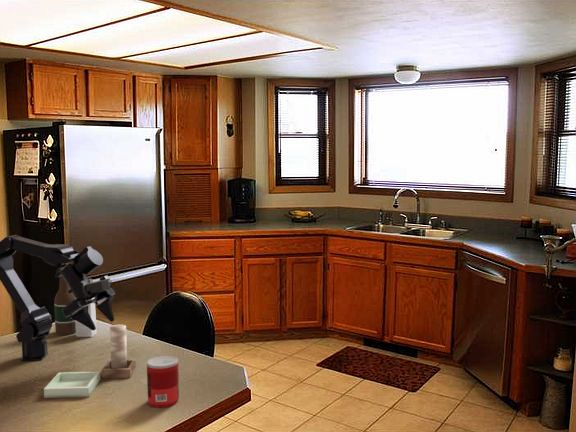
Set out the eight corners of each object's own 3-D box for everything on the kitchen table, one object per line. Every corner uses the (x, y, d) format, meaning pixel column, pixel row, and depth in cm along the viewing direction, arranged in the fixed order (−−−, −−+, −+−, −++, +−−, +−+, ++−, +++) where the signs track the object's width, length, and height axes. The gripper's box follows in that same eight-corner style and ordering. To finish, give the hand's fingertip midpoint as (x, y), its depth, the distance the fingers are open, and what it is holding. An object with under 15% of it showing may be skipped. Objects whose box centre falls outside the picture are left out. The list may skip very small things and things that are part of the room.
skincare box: (97, 333, 204) (95, 301, 203) (91, 337, 199) (90, 304, 198) (80, 333, 204) (79, 300, 203) (75, 336, 200) (74, 303, 199)
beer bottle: (82, 330, 208) (80, 266, 205) (68, 336, 200) (65, 270, 198) (65, 328, 210) (63, 265, 208) (50, 334, 203) (47, 268, 201)
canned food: (184, 401, 147) (184, 360, 146) (158, 411, 141) (157, 368, 140) (167, 392, 152) (166, 353, 151) (142, 402, 147) (140, 361, 145)
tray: (44, 398, 149) (43, 389, 149) (58, 381, 160) (58, 372, 160) (89, 396, 150) (88, 387, 149) (100, 379, 161) (100, 371, 161)
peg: (109, 375, 164) (108, 329, 163) (113, 370, 169) (112, 324, 167) (125, 375, 164) (124, 328, 163) (128, 369, 169) (127, 324, 168)
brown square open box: (102, 378, 162) (101, 369, 162) (108, 367, 170) (108, 359, 170) (130, 377, 163) (130, 369, 163) (136, 367, 171) (135, 359, 171)
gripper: (75, 274, 161) (103, 321, 159) (113, 263, 178) (139, 304, 177) (49, 293, 164) (77, 339, 163) (89, 280, 182) (114, 321, 180)
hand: (104, 325), depth 171 cm, fingers open, 9 cm apart
